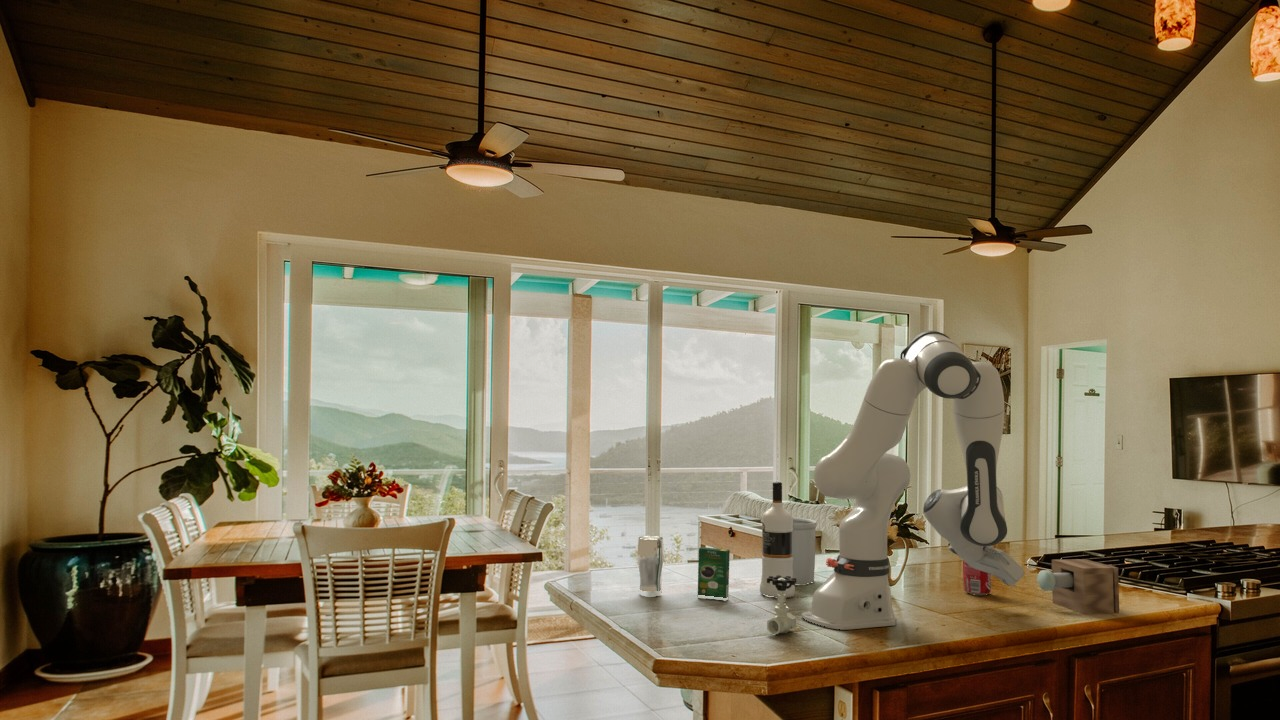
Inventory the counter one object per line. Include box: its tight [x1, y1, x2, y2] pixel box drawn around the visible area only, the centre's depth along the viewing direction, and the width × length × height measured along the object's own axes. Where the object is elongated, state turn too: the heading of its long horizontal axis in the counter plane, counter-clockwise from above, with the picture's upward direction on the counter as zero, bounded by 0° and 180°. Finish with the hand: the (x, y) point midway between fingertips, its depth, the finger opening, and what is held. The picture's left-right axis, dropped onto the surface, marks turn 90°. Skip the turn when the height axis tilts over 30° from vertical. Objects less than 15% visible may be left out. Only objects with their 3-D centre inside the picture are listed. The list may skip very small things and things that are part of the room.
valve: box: [766, 575, 797, 635], centre depth 178 cm, size 7×7×12 cm
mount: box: [1051, 558, 1120, 615], centre depth 205 cm, size 10×12×11 cm
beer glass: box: [637, 535, 665, 592], centre depth 214 cm, size 7×7×15 cm
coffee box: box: [697, 546, 731, 598], centre depth 210 cm, size 8×3×13 cm, turn 67°
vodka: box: [759, 481, 796, 598], centre depth 216 cm, size 9×9×30 cm
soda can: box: [962, 560, 992, 596], centre depth 220 cm, size 7×7×12 cm
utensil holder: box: [792, 516, 818, 584], centre depth 235 cm, size 15×15×18 cm
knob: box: [1037, 569, 1074, 592], centre depth 204 cm, size 10×5×5 cm, turn 98°
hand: (1011, 583), depth 202 cm, fingers closed
